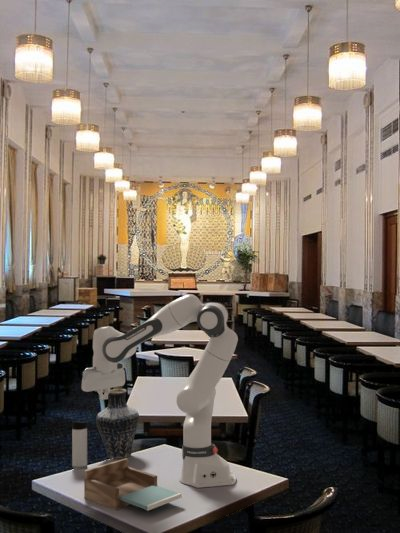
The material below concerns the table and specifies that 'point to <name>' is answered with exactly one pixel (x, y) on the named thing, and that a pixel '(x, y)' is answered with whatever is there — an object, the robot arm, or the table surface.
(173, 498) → the teal flat panel
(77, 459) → the travel mug
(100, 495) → the wooden drawer
